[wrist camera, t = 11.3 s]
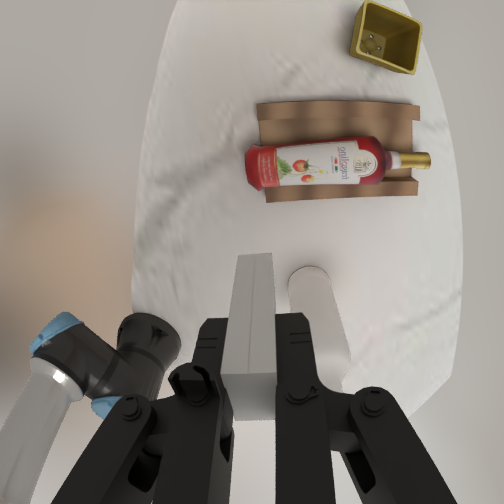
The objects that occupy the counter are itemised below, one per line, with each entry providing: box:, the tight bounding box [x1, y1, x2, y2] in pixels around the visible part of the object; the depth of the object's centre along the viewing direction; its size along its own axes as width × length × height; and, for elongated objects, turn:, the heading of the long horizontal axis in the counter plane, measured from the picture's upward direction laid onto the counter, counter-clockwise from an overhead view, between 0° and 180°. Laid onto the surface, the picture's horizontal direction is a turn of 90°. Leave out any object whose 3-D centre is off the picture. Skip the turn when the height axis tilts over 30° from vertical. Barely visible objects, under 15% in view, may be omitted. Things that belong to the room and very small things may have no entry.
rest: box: [257, 100, 420, 203], centre depth 41 cm, size 25×15×3 cm, turn 96°
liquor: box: [245, 136, 431, 191], centre depth 40 cm, size 7×7×28 cm
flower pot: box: [349, 0, 422, 75], centre depth 30 cm, size 9×9×9 cm
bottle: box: [288, 266, 351, 393], centre depth 42 cm, size 8×8×30 cm
